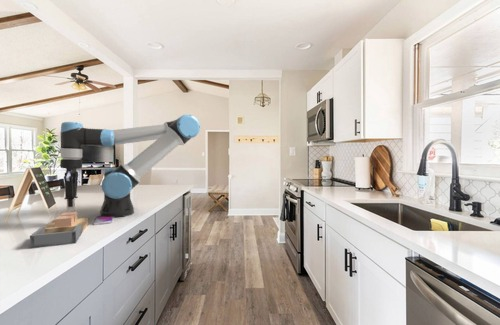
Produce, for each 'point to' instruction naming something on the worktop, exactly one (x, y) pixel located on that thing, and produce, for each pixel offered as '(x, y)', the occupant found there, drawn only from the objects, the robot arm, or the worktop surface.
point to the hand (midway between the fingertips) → (71, 213)
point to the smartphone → (102, 220)
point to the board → (52, 229)
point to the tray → (54, 237)
